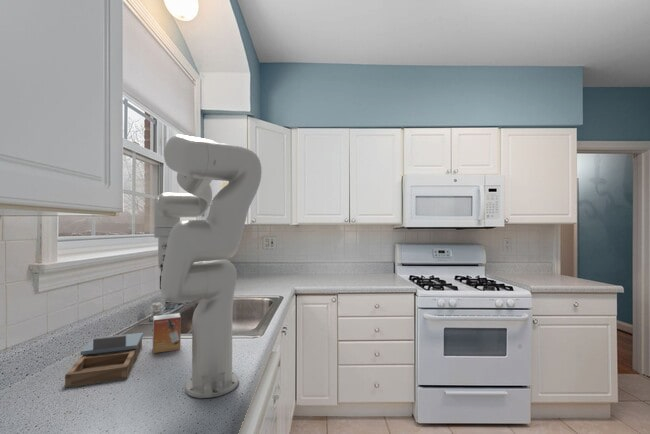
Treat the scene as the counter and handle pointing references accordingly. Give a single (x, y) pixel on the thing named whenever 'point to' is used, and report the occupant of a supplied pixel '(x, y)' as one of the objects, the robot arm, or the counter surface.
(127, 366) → the brown wooden shallow tray
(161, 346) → the small box
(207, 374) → the robot arm
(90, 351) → the cover
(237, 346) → the counter surface
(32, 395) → the counter surface
